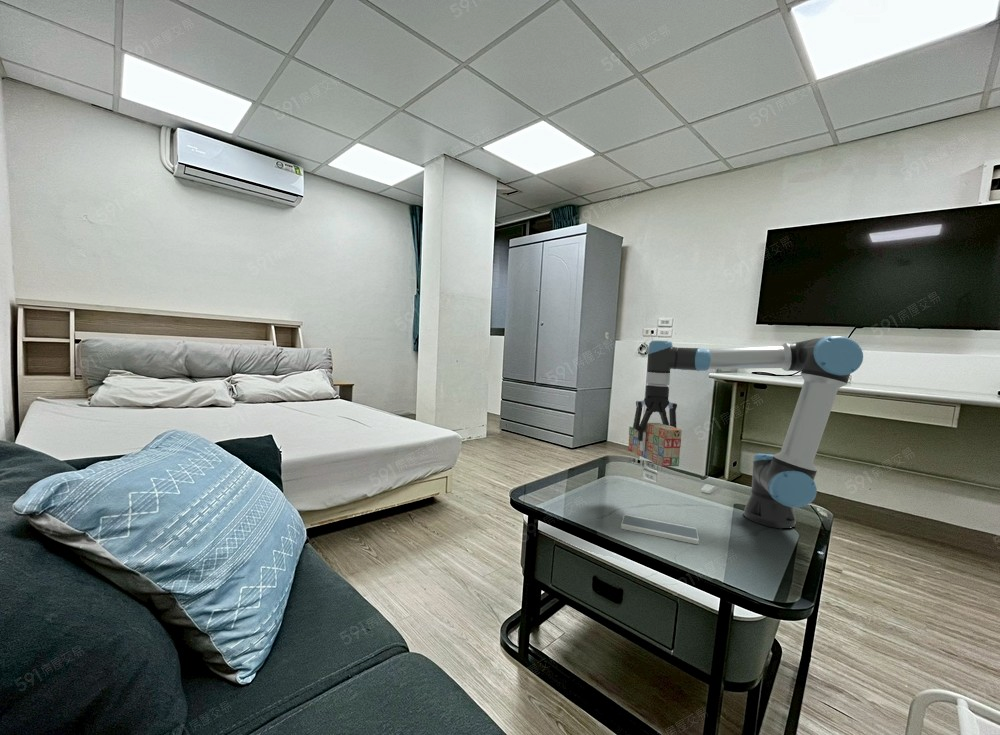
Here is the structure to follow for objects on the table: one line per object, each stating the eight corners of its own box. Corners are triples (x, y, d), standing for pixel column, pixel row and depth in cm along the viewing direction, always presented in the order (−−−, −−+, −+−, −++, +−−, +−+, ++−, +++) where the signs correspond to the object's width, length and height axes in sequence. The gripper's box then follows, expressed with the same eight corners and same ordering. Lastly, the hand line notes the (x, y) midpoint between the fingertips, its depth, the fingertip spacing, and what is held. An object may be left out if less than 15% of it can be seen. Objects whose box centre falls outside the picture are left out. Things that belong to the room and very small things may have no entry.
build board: (696, 531, 128) (696, 527, 127) (698, 544, 118) (698, 540, 118) (624, 517, 136) (624, 513, 136) (620, 528, 127) (621, 524, 127)
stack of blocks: (627, 450, 151) (629, 418, 150) (642, 451, 152) (644, 418, 152) (662, 466, 130) (665, 428, 129) (679, 466, 131) (682, 428, 131)
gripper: (681, 386, 144) (676, 450, 144) (625, 382, 143) (621, 447, 144) (691, 387, 136) (686, 455, 137) (632, 384, 136) (628, 451, 136)
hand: (653, 450), depth 140 cm, fingers closed on stack of blocks, 7 cm apart
